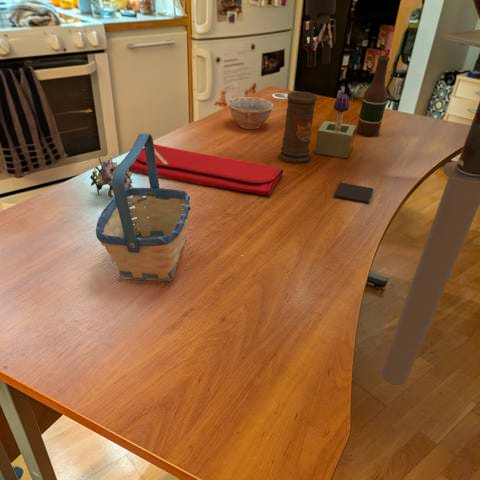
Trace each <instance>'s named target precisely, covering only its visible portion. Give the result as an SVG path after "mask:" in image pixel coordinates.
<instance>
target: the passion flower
mask: <svg viewBox="0 0 480 480" xmlns="http://www.w3.org/2000/svg"><path fill="white" fill-rule="evenodd" d="M98 161H99V165H100V168H99V166H94V170H92V172H91V173H92V174H91V175H90V176H89V179H91V183H90V187H93V186H94V185H95V188H96V192H97V196H98V195H99V194H100V191H101V190H102V189H103V186H105V185H107V186H109V188H108V190H107V196H108V197H109V198H110V199H111V198H112V199H113V198H114V197H115V196H114V192H113V186H112V178H113V173H114V171H115V169H116V167H117V166H118V165H119V164H120V163H119V164H118V161H115V162H114V161H113V158H112V157H109V159H108V160H107V161H105V160H104V159H103V158H101V157H98ZM131 177H132V171H129V170H128V171H127V172H126V176H125V189H129V188H134V186H133V179H132V178H131ZM127 198H130V196H128V197H127Z"/></svg>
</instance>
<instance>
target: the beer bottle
mask: <svg viewBox="0 0 480 480" xmlns="http://www.w3.org/2000/svg"><path fill="white" fill-rule="evenodd" d="M376 60H377V63H376V68H375V70H374V75H373V79H372V81H371V83H370V85H368V87H367V88H366V90H365V91H364V94H363V97H362V102H361V107H360V112H359V117H358V121H357V125H356V133H358V134H359V136H364V137H377V135H379V133H380V129H381V126H382V121H383V117H384V113H385V109H386V104H387V101H388V100H387V99H388V89H387V87H386V77H387V71H388V65H389V62H390V56H388V55H379V56H378V57H377V59H376Z"/></svg>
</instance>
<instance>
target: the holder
mask: <svg viewBox="0 0 480 480" xmlns="http://www.w3.org/2000/svg"><path fill="white" fill-rule="evenodd" d="M335 126H336V121H329V120H328V121H327V120H324V121H323V122H322V123H321V125H320V126H319V128H318V129H317V133H316V140H315V147H314V154H318V155H325V156H330V157H335V158H343V159H348V158H349V155H350V153H351V151H352V148H353V145H354V140H355V137H356V132H357V125H356V124H349V123H343V122H342V123H341V129H340V132H339V131H335Z"/></svg>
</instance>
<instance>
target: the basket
mask: <svg viewBox="0 0 480 480" xmlns="http://www.w3.org/2000/svg"><path fill="white" fill-rule="evenodd" d="M154 144H155V143H154V139H153V136H152V134H151V133H138V135H137V137H136V139H135V141H134V143H133V145H132V147H131V148H130V150H129V152H128V153H127V154H126V156H125V157H124V158H123V159H122V160H121V161H120V162H119V165H118V164H117V165H118V166H117V167H116V169H115V171H114V173H113V178H112V186H113V192H114V197H112V199H111V200H110V201H109V202H108V203H107V205H106V206H105V207H104V208H103V210H102V211H101V213H100V215H99V217H98V220H97V222H96V227H95V236H96V239H97V240H98V241H99V242H100V244H101V245H102V246H103V247H105V250H106V252H107V254H108V255H110V259H111V261H112V263H115V266H116V269H117V270H118V271H119V277H120V278H122V279H125V280H135V281H141V282H142V281H158V282H159V281H160V282H170V281H172V279H173V278H174V275H175V273H176V270H177V267H178V263H179V262H180V258H181V255H182V253H183V251H184V247H185V244H186V242H187V235H188V231H187V230H188V229H187V228H188V226H189V221H188V219H189V218H190V213H189V212H190V211H191V209H192V208H191V204H190V203H191V202H190V199H191V196H190V195H188V192H187V191H184V190H180V189H173V188H164V187H161V188H160V181H159V176H158V174H157V166H156V158H155V150H154ZM143 148H145V156H146V163H147V170H148V174H147V176H148V182H149V187H133V188H129V189H125V176H126V172H127V171H128V172H129V170H128V169H129V168H130V167H131V165H132V164H133V163H134V162H135V160H136V159H137V158H138V156H139V155H140V153H141V151H142V149H143ZM128 196H129V198H127V197H128ZM133 206H134V207H133ZM132 207H133V208H132Z"/></svg>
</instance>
